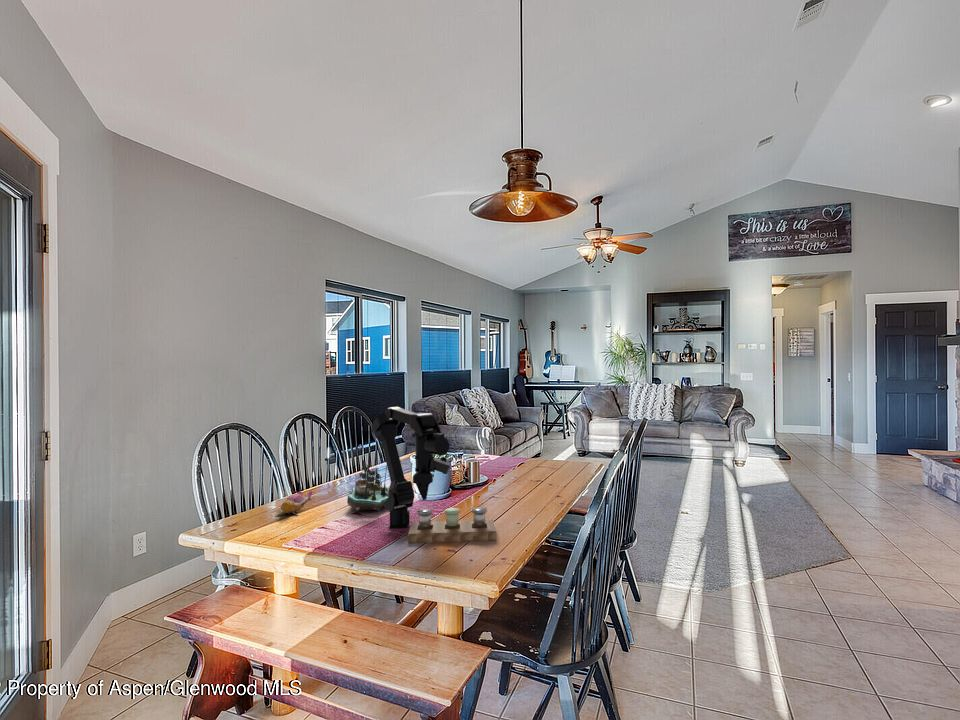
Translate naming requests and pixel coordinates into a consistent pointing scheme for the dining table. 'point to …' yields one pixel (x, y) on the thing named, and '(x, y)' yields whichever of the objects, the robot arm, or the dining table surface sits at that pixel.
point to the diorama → (368, 492)
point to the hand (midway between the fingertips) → (424, 498)
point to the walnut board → (452, 532)
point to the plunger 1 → (425, 517)
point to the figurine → (294, 502)
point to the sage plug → (452, 516)
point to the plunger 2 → (479, 515)
